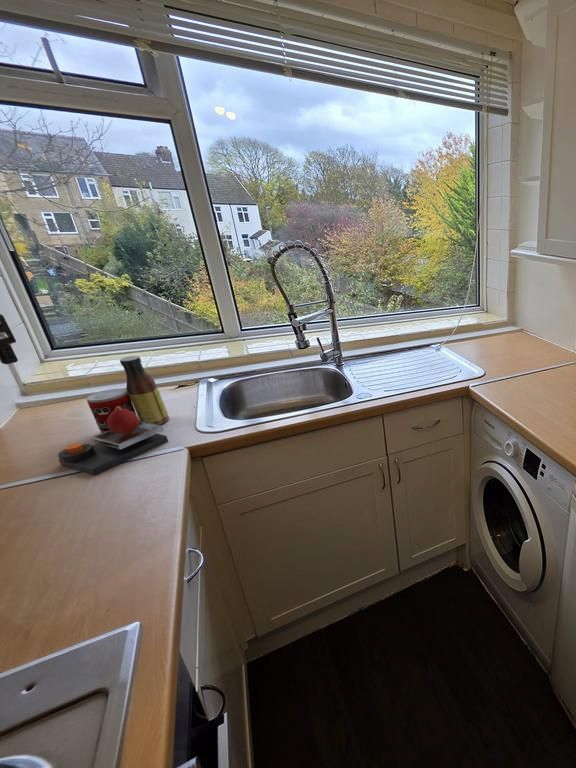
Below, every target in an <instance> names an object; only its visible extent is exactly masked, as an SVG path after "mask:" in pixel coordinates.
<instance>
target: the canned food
mask: <svg viewBox="0 0 576 768" xmlns="http://www.w3.org/2000/svg"><path fill="white" fill-rule="evenodd" d="M86 402H87V404H88V407H89V409H90V411H91V413H92V416H93V419H94V421H95V422H96V425H97V427H98V429H99V431H100V434H101V433H103V432H106V431H108V430H110V429H109V428H108V425H107V418H108V417H109V415H110V414H111V413H112V412H113V411H114V410H115V408H116V407H118V406H120V407H121V408H122V409H127V410H130V411H132V412H134V413H135V414H136V415H137V413H136V410H135V408H134V406H133V404H132V401H131V399H130V397H129V395H128V392H127V390H126V388H111V389H105V390H101V391H98V392H95V393H93V394H92V393H91V394H90V395H89V396H87V397H86Z"/></svg>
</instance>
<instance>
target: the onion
mask: <svg viewBox="0 0 576 768" xmlns="http://www.w3.org/2000/svg"><path fill="white" fill-rule="evenodd" d="M107 425H108V428H109V429H110V430H111V431H113V432H115V433H118V434H123V435H131V434H132V433H133V431H134V430H135V429H136V428H137V427H138V425H139V417H138V415H137V413H136V414H135V413H134V412H132V411H130V410H127V409H122V408H121V407H120V406H118V407H116V408H115V410H114V411H113V412H112V413H111V414H110V415H109V417H108V418H107Z"/></svg>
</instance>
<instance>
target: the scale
mask: <svg viewBox="0 0 576 768" xmlns="http://www.w3.org/2000/svg"><path fill="white" fill-rule="evenodd" d="M166 443H169V439H168V437H167V435H165V434H160V433H157V434H155V435H152V436H150V437H148V438H145V439H143V440H141V441H139V442H136V443H134V444H132V445H130V446H127V447H125V448H123V449H120V450H119V449H115V448H111V447H108V446H104V445H100V444H96V443H94V444H92V443H91V444H90V443H82V445H83V447H84V450H83V451H80V452H78V453H74V454H68V453H67V451H66V449H65V448H64V449H62V450H61V451H59V452H58V456H57V457H58V462H59V464H60V467H63V468H67V469H70V470H74V471H76V472H80V473H84V474H86V475H90V476H94V477H96V476H98V475H101V474H102V473H104V472H106V471H109V470H111V469H113V468H115V467H118V466H119V465H122V464H123V463H126V462H129V461H130V460H133V459H134V458H137V457H139V456H141V455H144V454H145V453H147V452H149V451H151V450H153V449H156V448H159V447H160V446H162V445H164V444H166Z"/></svg>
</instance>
